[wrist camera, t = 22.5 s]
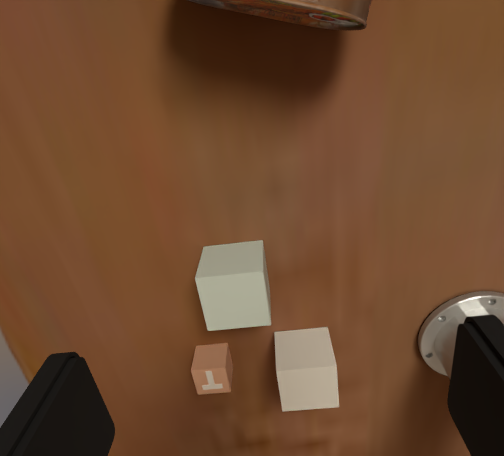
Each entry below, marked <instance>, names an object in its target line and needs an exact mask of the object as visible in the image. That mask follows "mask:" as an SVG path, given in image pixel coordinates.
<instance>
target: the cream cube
mask: <svg viewBox="0 0 504 456" xmlns="http://www.w3.org/2000/svg"><path fill="white" fill-rule="evenodd" d="M274 335H275V357H276V373H277V380H278V386H279V392H280V398H281V405H282V411H295V410H308V409H320V408H333V407H339V397H338V381H337V365H336V361H335V357H334V353H333V348H332V344H331V340H330V335H329V331H328V327H323V328H312V329H302V330H291V331H281V332H274Z"/></svg>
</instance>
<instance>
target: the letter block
mask: <svg viewBox="0 0 504 456" xmlns="http://www.w3.org/2000/svg"><path fill="white" fill-rule="evenodd" d="M191 373H192V376H193V379H194V383H195V386H196V390H197V393H198V395H199V394H211V393H224V392H231V384H232V373H233V364H232V359H231V355H230V350H229V346H228V343H221V344H210V345H199V346H196V349H195V354H194V358H193V363H192V368H191Z"/></svg>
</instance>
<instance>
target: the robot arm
mask: <svg viewBox="0 0 504 456" xmlns="http://www.w3.org/2000/svg"><path fill="white" fill-rule="evenodd" d="M418 347H419V351H420V353H421V355H422V357H423V359H424V361H425V362H426V364H427V365H428V366H429V367H430V368H432V369H433V370H434V371H436V372H438V373H440V374H443V375H446V376H448V377H449V379H450V385H449V393H448V408H449V411H450V414H451V416H452V419H453V420H454V422H455V424H456V426H457V428H458V430H459V432H460V434H461V436H462V438H463V440H464V442H465V444H466V446H467V448H468V450H469V452H470V454H471V456H504V294H503V293H498V292H492V291H481V292H473V293H468V294H465V295H461V296H458V297H456V298H454V299H451V300H449V301H447V302H446V303H444V304H442V305H441V306H439V307H438V308H437V309H436V310H435V311H433V312H432V313H431V314H430V315H429V317H428V318H427V319H426V320H425V322H424V323H423V325H422V327H421V329H420V332H419V335H418ZM114 434H115V427H114V423H113V421H112V419H111V416H110V414H109V412H108V410H107V408H106V405H105V403H104V401H103V399H102V396H101V394H100V392H99V390H98V388H97V385H96V383H95V381H94V379H93V376H92V374H91V372H90V370H89V367H88V365H87V363H86V361H85V359H84V358H83V357H79V355H78V354H77V353H76V352H68V353H57V354H51V355H50V356H49V357H48V358H47V359H46V360H45V362H44V363H43V365H42V366H41V368H40V369H39V371H38V372H37V374H36V375H35V377H34V378H33V380H32V381H31V383H30V384H29V386H28V387H27V389H26V390H25V392H24V393H23V395H22V396H21V398H20V399H19V401H18V402H17V404H16V405H15V407H14V408H13V410H12V411H11V413H10V414H9V416H8V417H7V419H6V420H5V422H4V423H3V425H2V426H1V428H0V456H108V453H109V450H110V448H111V445H112V442H113V439H114Z"/></svg>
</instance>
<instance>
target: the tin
mask: <svg viewBox="0 0 504 456" xmlns="http://www.w3.org/2000/svg"><path fill="white" fill-rule="evenodd" d="M188 1H191V2H195V3H198V4H202V5H206V6H212V7H216V8H220V9H225V10H231V11H235V12H240V13H245V14H250V15H255V16H260V17H265V18H270V19H275V20H279V21H284V22H289V23H294V24H299V25H304V26H310V27H317V28H323V29H332V30H362V29H365V28H366V25H367V24H366V20H367V16H368V12H369V9H370V5H371V1H372V0H188Z"/></svg>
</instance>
